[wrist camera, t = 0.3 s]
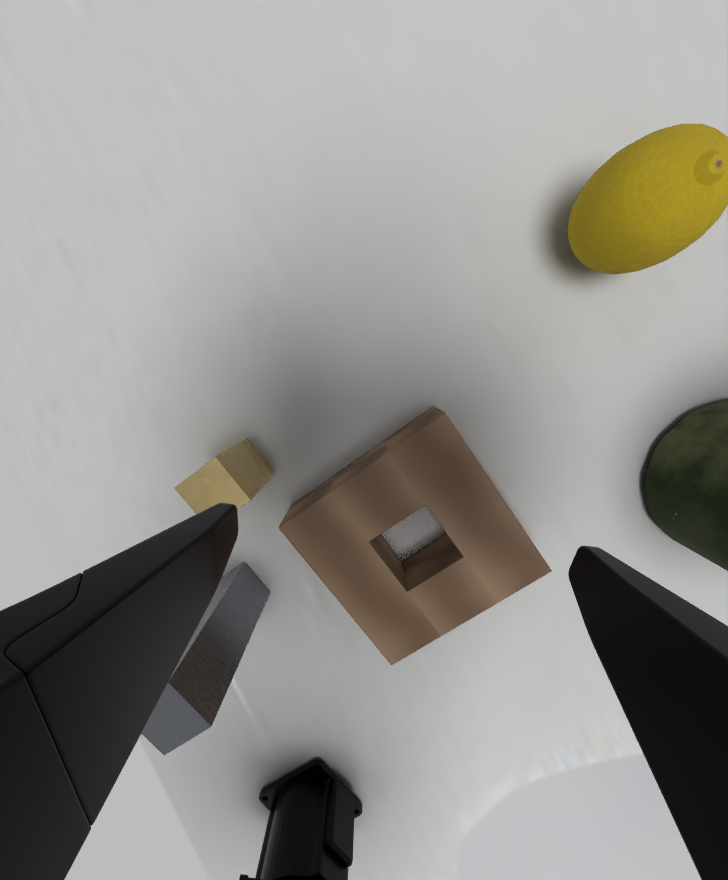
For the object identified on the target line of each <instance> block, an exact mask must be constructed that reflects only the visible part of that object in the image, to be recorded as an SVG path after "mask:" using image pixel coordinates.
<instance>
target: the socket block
mask: <svg viewBox="0 0 728 880" xmlns="http://www.w3.org/2000/svg"><path fill="white" fill-rule="evenodd" d="M424 505H427V507H428V508H429V510H430V511H431V512H432V514H433V515H434V516H435V518H436V519H437V521H438V522H439V523H440V525H441V526H442V527H443V529H444V530H445V532H446V533H447V534H445V535H444V536H442V537H440V538H439V539H437V540H436V541H434V542H432V543H431V544H429V545H428V546H426V547H425V548H423V549H421V550H420V551H418V552H417V553H415V554H413V555H412V556H410V557H409V558H407V559H406V560H404V561H401V560H400V558H399V557H398V556H397V554H396V553H395V552H394V551H393V549H392V548H391V547H390V545H389V544H388V543H387V541H386V540H385V539H384V537H383V536H382V535H381V533H383V532H384V531H386V530H387V529H389V528H390V527H392V526H393V525H395V524H396V523H398V522H400V521H401V520H403V519H404V518H406V517H407V516H409V515H410V514H412V513H413V512H415V511H416V510H418V509H420V508H421V507H423V506H424ZM279 529H280V530H281V532H282V533H283V534H284V535H285V536H286V538H287V539H288V540H289V541H290V542H291V544H292V545H293V546H294V547H295V549H296V550H297V551H298V552H299V553H300V555H301V556H302V557H303V558H304V560H305V561H306V562H307V563H308V564H309V566H310V567H311V568H312V569H313V570H314V572H315V573H316V574H317V575H318V577H319V578H320V579H321V580H322V581H323V583H324V584H325V585H326V586H327V587H328V589H329V590H330V591H331V592H332V594H333V595H334V596H335V597H336V598H337V600H338V601H339V602H340V603H341V605H342V606H343V607H344V608H345V609H346V611H347V612H348V613H349V614H350V615H351V617H352V618H353V619H354V620H355V622H356V623H357V624H358V625H359V626H360V628H361V629H362V630H363V631H364V633H365V634H366V635H367V636H368V637H369V639H370V640H371V641H372V642H373V643H374V645H375V646H376V647H377V648H378V650H379V651H380V652H381V653H382V654H383V656H384V657H385V658H386V659H387V660H388V662H389V663H390V664H391V665H393V664H395V663H396V662H398V661H400V660H401V659H403V658H405V657H406V656H408V655H410V654H412V653H413V652H415V651H417V650H418V649H420V648H422V647H423V646H425V645H427V644H429V643H430V642H432V641H434V640H435V639H437V638H439V637H440V636H442V635H444V634H446V633H447V632H449V631H451V630H452V629H454V628H456V627H457V626H459V625H461V624H463V623H464V622H466V621H468V620H469V619H471V618H473V617H474V616H476V615H478V614H480V613H481V612H483V611H485V610H486V609H488V608H490V607H492V606H493V605H495V604H497V603H498V602H500V601H502V600H503V599H505V598H507V597H509V596H510V595H512V594H514V593H515V592H517V591H519V590H520V589H522V588H524V587H526V586H527V585H529V584H531V583H532V582H534V581H536V580H537V579H539V578H541V577H543V576H544V575H546V574H548V573H549V572H551V571H552V570H551V569H550V567H549V566H548V564H547V563H546V561H545V560H544V558H543V557H542V556H541V554H540V553H539V551H538V550H537V548H536V547H535V545H534V544H533V542H532V541H531V539H530V538H529V536H528V535H527V533H526V532H525V530H524V529H523V527H522V526H521V524H520V523H519V522H518V520H517V519H516V517H515V516H514V514H513V513H512V511H511V510H510V508H509V507H508V505H507V504H506V502H505V501H504V499H503V498H502V496H501V495H500V493H499V492H498V490H497V489H496V488H495V486H494V485H493V483H492V482H491V480H490V479H489V477H488V476H487V474H486V473H485V471H484V470H483V468H482V467H481V465H480V464H479V462H478V461H477V459H476V458H475V456H474V455H473V453H472V452H471V451H470V449H469V448H468V446H467V445H466V443H465V442H464V440H463V439H462V437H461V436H460V434H459V433H458V431H457V430H456V428H455V427H454V425H453V424H452V422H451V421H450V419H449V418H448V417H447V415H446V414H445V413H444V412H443V411H441V410H439V409H438V408H436V407H435V406H434V407H432V408H431V409H429V410H428V411H426V412H425V413H423V414H422V415H421V416H419V417H418V418H416V419H415V420H413V421H412V422H411V423H409V424H408V425H406V426H405V427H403V428H402V429H400V430H399V431H398V432H396V433H395V434H393V435H392V436H390V437H389V438H387V439H386V440H385V441H383V442H382V443H380V444H379V445H377V446H376V447H374V448H373V449H372V450H370V451H369V452H367V453H366V454H364V455H363V456H361V457H360V458H359V459H357V460H356V461H354V462H353V463H351V464H350V465H348V466H347V467H346V468H344V469H343V470H341V471H340V472H338V473H337V474H335V475H334V476H333V477H331V478H330V479H328V480H327V481H325V482H324V483H322V484H321V485H320V486H318V487H317V488H315V489H314V490H312V491H311V492H310V493H308V494H307V495H305V496H304V497H302V498H301V499H299V500H298V501H297V502H295V503H294V504H292V505H291V506H290V508H289V510H288V512H287V513H286V515H285V517H284V519H283V520H282V522H281V524H280V526H279Z"/></svg>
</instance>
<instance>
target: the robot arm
mask: <svg viewBox="0 0 728 880" xmlns="http://www.w3.org/2000/svg"><path fill="white" fill-rule="evenodd" d="M237 535H238V516H237V507H236V505H234V504H228V503H218V504H216V505H214V506H212V507H210V508H208V509H206V510H204V511H202V512H200V513H198V514H196V515H194V516H192V517H190V518H188V519H186V520H184V521H182V522H180V523H178V524H176V525H174V526H172V527H170V528H168V529H167V530H165V531H163V532H161V533H159V534H157V535H155V536H153V537H151V538H149V539H147V540H145V541H143V542H141V543H139V544H137V545H135V546H133V547H131V548H129V549H127V550H125V551H123V552H121V553H119V554H117V555H115V556H113V557H111V558H109V559H107V560H105V561H103V562H101V563H99V564H97V565H95V566H93V567H91V568H89V569H87V570H85V571H84V572H83V574H82V573H79V574H77V575H75V576H73V577H71V578H69V579H67V580H65V581H63V582H61V583H59V584H57V585H55V586H53V587H51V588H49V589H46V590H44V591H42V592H40V593H38V594H36V595H34V596H32V597H30V598H28V599H26V600H24V601H21V602H19V603H17V604H15V605H12V606H10V607H8V608H6V609H3V610H2V611H0V880H64V879H65V877H66V875H67V873H68V871H69V870H70V868H71V866H72V864H73V862H74V860H75V858H76V856H77V854H78V852H79V851H80V849H81V847H82V845H83V843H84V841H85V839H86V837H87V835H88V834H89V832H90V830H91V825H92V824H93V823H94V822H95V820H96V818H97V816H98V814H99V812H100V810H101V808H102V807H103V805H104V803H105V801H106V799H107V797H108V795H109V793H110V791H111V789H112V788H113V786H114V784H115V782H116V780H117V778H118V776H119V774H120V772H121V770H122V768H123V767H124V765H125V763H126V761H127V759H128V757H129V755H130V753H131V752H132V750H133V748H134V746H135V744H136V742H137V740H138V738H139V736H140V735H141V733H142V731H143V729H144V727H145V725H146V723H147V721H148V719H149V718H150V716H151V714H152V712H153V710H154V708H155V706H156V704H157V702H158V700H159V699H160V697H161V695H162V693H163V691H164V689H165V687H166V685H167V683H168V682H169V680H170V678H171V676H172V674H173V672H174V670H175V668H176V666H177V664H178V663H179V661H180V659H181V657H182V655H183V653H184V651H185V649H186V647H187V646H188V644H189V642H190V640H191V638H192V636H193V634H194V632H195V630H196V628H197V627H198V625H199V623H200V621H201V619H202V617H203V615H204V613H205V611H206V610H207V608H208V606H209V604H210V602H211V600H212V598H213V596H214V594H215V592H216V590H217V587H218V585H219V582H220V580H221V577H222V575H223V572H224V570H225V567H226V565H227V562H228V560H229V557H230V554H231V552H232V549H233V547H234V544H235V542H236V539H237ZM569 580H570V583H571V586H572V588H573V591H574V594H575V597H576V600H577V603H578V606H579V608H580V611H581V614H582V617H583V620H584V623H585V626H586V628H587V631H588V633H589V636H590V638H591V641H592V643H593V645H594V648H595V650H596V652H597V654H598V656H599V658H600V661H601V663H602V665H603V667H604V669H605V671H606V674H607V676H608V678H609V680H610V682H611V684H612V687H613V689H614V691H615V693H616V695H617V697H618V700H619V702H620V704H621V706H622V708H623V710H624V713H625V715H626V717H627V719H628V721H629V723H630V726H631V728H632V730H633V732H634V734H635V736H636V739H637V741H638V743H639V745H640V747H641V749H642V752H643V754H644V756H645V758H646V760H647V762H648V765H649V767H650V769H651V771H652V773H653V775H654V778H655V780H656V782H657V784H658V786H659V788H660V790H661V793H662V795H663V797H664V799H665V801H666V804H667V806H668V808H669V810H670V812H671V814H672V816H673V818H674V821H675V823H676V825H677V827H678V829H679V832H680V834H681V836H682V838H683V840H684V842H685V844H686V847H687V849H688V851H689V853H690V855H691V858H692V860H693V862H694V864H695V866H696V868H697V870H698V873H699V875H700V877H701V879H702V880H728V626H727V625H725V624H723V623H722V622H720V621H718V620H717V619H715V618H713V617H712V616H710V615H709V614H707V613H705V612H704V611H702V610H700V609H699V608H697V607H695V606H694V605H692V604H690V603H689V602H687V601H686V600H684V599H682V598H681V597H679V596H677V595H676V594H674V593H672V592H671V591H669V590H668V589H666V588H664V587H663V586H661V585H659V584H658V583H656V582H654V581H653V580H651V579H650V578H648V577H646V576H645V575H643V574H641V573H640V572H638V571H636V570H635V569H633V568H631V567H630V566H628V565H627V564H625V563H623V562H622V561H620V560H618V559H617V558H615V557H613V556H612V555H610V554H609V553H607V552H605V551H604V550H602V549H600V548H598V547H591V546H581V547H580V548H579V549H578V550H577V553H576V555H575V557H574V559H573V562H572V564H571V566H570V569H569ZM259 800H260V801H261V802H262V803H263V804H264V805H265V806H266V807H267V808H268V809H269V810H270V815H269V819H268V824H267V828H266V833H265V837H264V842H263V846H262V851H261V855H260V860H259V864H258V869H257V873H256V878H249V877H248V875H243V874H241V875H240V879H239V880H348V867H349V866H351V865H352V860H353V833H354V818H356V817H358V816H359V815H361V814H362V804H361V803H360V801H359V800H358V799H357V798H356V797H355V796H354V795H353V794H352V793H351V792H350V791H349V790H348V788H347V787H346V786H345V785H344V784H343V783H342V782H341V781H340V780H339V779H338V778H337V777H336V776H335V774H334V773H333V772H332V771H331V770H330V769H329V768H328V767H327V766H326V765H325V764H324V763H323V761H321V760H319V759H316V760H313V761H312V762H310V763H308V764H306V765H304V766H303V767H301V768H299V769H297V770H296V771H294V772H292V773H290V774H289V775H287V776H285V777H283V778H281V779H280V780H278V781H276V782H274V783H273V784H271V785H269V786H267V787H266V788H264V789H262V790H261V792H260V796H259Z"/></svg>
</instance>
